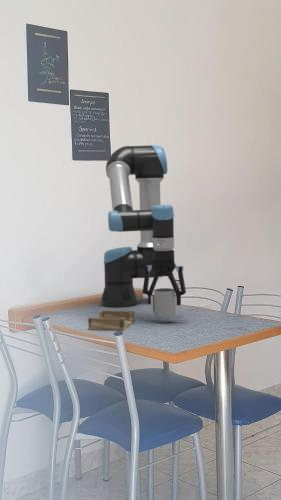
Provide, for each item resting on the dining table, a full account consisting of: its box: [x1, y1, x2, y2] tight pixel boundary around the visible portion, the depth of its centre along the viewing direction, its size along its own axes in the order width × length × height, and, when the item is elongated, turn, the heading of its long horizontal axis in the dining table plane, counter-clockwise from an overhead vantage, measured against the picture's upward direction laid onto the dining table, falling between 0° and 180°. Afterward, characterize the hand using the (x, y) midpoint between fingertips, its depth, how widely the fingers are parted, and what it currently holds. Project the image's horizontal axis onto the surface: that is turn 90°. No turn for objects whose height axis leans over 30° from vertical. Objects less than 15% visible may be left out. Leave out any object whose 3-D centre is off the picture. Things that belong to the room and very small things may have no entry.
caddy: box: [87, 310, 135, 331], centre depth 224 cm, size 15×12×4 cm
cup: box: [153, 287, 176, 318], centre depth 228 cm, size 7×10×9 cm
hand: (164, 313), depth 228 cm, fingers closed on cup, 8 cm apart
